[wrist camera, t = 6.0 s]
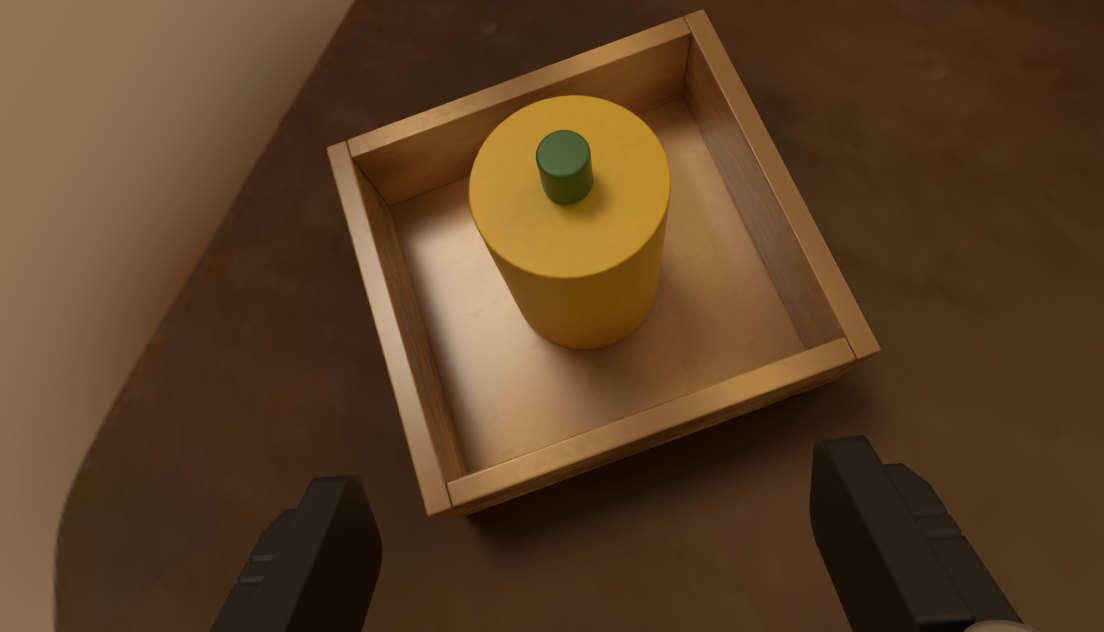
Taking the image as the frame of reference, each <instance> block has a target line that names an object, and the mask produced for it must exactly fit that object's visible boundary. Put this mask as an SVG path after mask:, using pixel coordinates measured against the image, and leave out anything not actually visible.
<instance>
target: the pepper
mask: <svg viewBox="0 0 1104 632" xmlns="http://www.w3.org/2000/svg"><path fill="white" fill-rule="evenodd" d="M670 190H671V176H670V168H669V164H668V160H667V157H666V154H665V151H664V149H663V147H662V145H661V143H660V142H659V140H658V138H657V137H656V135H655V134H654V133H653V131H652V130H651V129H650V128H649V127H648V126H647V125H646V124H645V123H644V122H643V121H642V120H641V119H640V118H639V117H638V116H636V115H635V114H634V113H632V112H631V111H629V110H627V109H626V108H624V107H622V106H620V105H618V104H615V103H613V102H611V101H607V100H604V99H600V98H596V97H590V96H578V95H570V96H558V97H553V98H548V99H544V100H541V101H538V102H535V103H533V104H530V105H528V106H526V107H524V108H522V109H520V110H518V111H517V112H515V113H513V114H512V115H510V116H509V117H508V118H506V119H505V120H504V121H503V122H502V123H500V124H499V125H498V126H497V127H496V128H495V129H494V130H493V131H492V133H491V134H490V135H489V136H488V137H487V139H486V140H485V142H484V143H483V145H482V147H481V148H480V150H479V152H478V154H477V156H476V158H475V161H474V164H473V167H472V170H471V174H470V180H469V204H470V210H471V213H472V217H473V220H474V222H475V225H476V227H477V229H478V231H479V233H480V235H481V237H482V239H483V241H484V243H485V245H486V247H487V249H488V251H489V252H490V254H491V256H492V258H493V260H494V262H495V264H496V266H497V268H498V270H499V272H500V273H501V275H502V277H503V279H504V281H505V283H506V285H507V287H508V289H509V291H510V293H511V294H512V296H513V298H514V300H515V302H516V304H517V306H518V308H519V310H520V312H521V313H522V315H523V317H524V318H525V320H526V321H527V322H528V324H529V325H530V326H531V327H532V328H533V329H534V330H535V331H536V332H537V333H538V334H540V335H541V336H542V337H544V338H545V339H547V340H549V341H551V342H553V343H555V344H558V345H560V346H563V347H568V348H572V349H596V348H602V347H605V346H608V345H611V344H614V343H616V342H618V341H620V340H622V339H624V338H625V337H627V336H628V335H630V334H631V333H632V332H633V331H635V330H636V329H637V328H638V327H639V326H640V325H641V324H642V323H643V321H644V320H645V318H646V317H647V316H648V314H649V312H650V310H651V309H652V307H653V304H654V301H655V299H656V294H657V290H658V283H659V275H660V268H661V260H662V253H663V245H664V238H665V230H666V222H667V215H668V207H669V200H670Z"/></svg>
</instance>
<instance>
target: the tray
mask: <svg viewBox="0 0 1104 632" xmlns="http://www.w3.org/2000/svg"><path fill="white" fill-rule="evenodd" d="M570 95H578V96H590V97H596V98H600V99H604V100H607V101H611V102H613V103H615V104H618V105H620V106H622V107H624V108H626V109H627V110H629V111H631V112H632V113H634V114H635V115H636V116H638V117H639V118H640V119H641V120H642V121H643V122H644V123H645V124H646V125H647V126H648V127H649V128H650V129H651V130H652V131H653V133H654V134H655V135H656V137H657V138H658V140H659V142H660V143H661V145H662V147H663V149H664V151H665V154H666V157H667V160H668V164H669V168H670V176H671V190H670V200H669V207H668V215H667V222H666V230H665V238H664V245H663V253H662V260H661V268H660V275H659V283H658V290H657V294H656V299H655V301H654V304H653V307H652V309H651V310H650V312H649V314H648V316H647V317H646V318H645V320H644V321H643V323H642V324H641V325H640V326H639V327H638V328H637V329H636V330H635V331H633V332H632V333H631V334H630V335H628V336H627V337H625V338H624V339H622V340H620V341H618V342H616V343H614V344H611V345H608V346H605V347H602V348H596V349H572V348H568V347H563V346H560V345H558V344H555V343H553V342H551V341H549V340H547V339H545V338H544V337H542V336H541V335H540V334H538V333H537V332H536V331H535V330H534V329H533V328H532V327H531V326H530V325H529V324H528V322H527V321H526V320H525V318H524V317H523V315H522V313H521V312H520V310H519V308H518V306H517V304H516V302H515V300H514V298H513V296H512V294H511V293H510V291H509V289H508V287H507V285H506V283H505V281H504V279H503V277H502V275H501V273H500V272H499V270H498V268H497V266H496V264H495V262H494V260H493V258H492V256H491V254H490V252H489V251H488V249H487V247H486V245H485V243H484V241H483V239H482V237H481V235H480V233H479V231H478V229H477V227H476V225H475V222H474V220H473V217H472V213H471V210H470V204H469V180H470V174H471V170H472V167H473V164H474V161H475V158H476V156H477V154H478V152H479V150H480V148H481V147H482V145H483V143H484V142H485V140H486V139H487V137H488V136H489V135H490V134H491V133H492V131H493V130H494V129H495V128H496V127H497V126H498V125H499V124H500V123H502V122H503V121H504V120H505V119H506V118H508V117H509V116H510V115H512V114H513V113H515V112H517V111H518V110H520V109H522V108H524V107H526V106H528V105H530V104H533V103H535V102H538V101H541V100H544V99H548V98H553V97H558V96H570ZM327 153H328V157H329V161H330V164H331V168H332V171H333V175H334V179H335V182H336V186H337V190H338V193H339V197H340V200H341V204H342V208H343V211H344V215H345V219H346V222H347V226H348V229H349V233H350V237H351V240H352V244H353V248H354V251H355V255H356V258H357V262H358V266H359V269H360V273H361V277H362V280H363V284H364V287H365V291H366V295H367V298H368V302H369V305H370V309H371V313H372V316H373V320H374V324H375V327H376V331H377V334H378V338H379V342H380V345H381V349H382V353H383V356H384V360H385V363H386V367H387V371H388V374H389V378H390V382H391V385H392V389H393V392H394V396H395V400H396V403H397V407H398V411H399V414H400V418H401V421H402V425H403V429H404V432H405V436H406V440H407V443H408V447H409V450H410V454H411V458H412V461H413V465H414V469H415V472H416V476H417V479H418V483H419V487H420V490H421V494H422V498H423V501H424V505H425V508H426V512H427V515H428V516H467V515H470V514H473V513H476V512H478V511H481V510H484V509H487V508H489V507H492V506H495V505H497V504H500V503H503V502H506V501H508V500H511V499H514V498H517V497H519V496H522V495H525V494H528V493H530V492H533V491H536V490H538V489H541V488H544V487H547V486H549V485H552V484H555V483H558V482H560V481H563V480H566V479H569V478H571V477H574V476H577V475H579V474H582V473H585V472H588V471H590V470H593V469H596V468H599V467H601V466H604V465H607V464H609V463H612V462H615V461H618V460H620V459H623V458H626V457H629V456H631V455H634V454H637V453H640V452H642V451H645V450H648V449H650V448H653V447H656V446H659V445H661V444H664V443H667V442H670V441H672V440H675V439H678V438H681V437H683V436H686V435H689V434H691V433H694V432H697V431H700V430H702V429H705V428H708V427H711V426H713V425H716V424H719V423H721V422H724V421H727V420H730V419H732V418H735V417H738V416H741V415H743V414H746V413H749V412H752V411H754V410H757V409H760V408H762V407H765V406H768V405H771V404H773V403H776V402H779V401H782V400H784V399H787V398H790V397H793V396H795V395H798V394H801V393H803V392H806V391H809V390H812V389H814V388H817V387H820V386H823V385H825V384H828V383H831V382H833V381H835V380H837V379H838V378H840V377H842V376H843V375H845V374H846V373H848V372H849V371H851V370H852V369H854V368H855V367H857V366H859V365H860V364H862V363H863V362H865V361H866V360H868V359H869V358H871V357H872V356H874V355H875V354H877V353H879V352H880V351H881V348H880V346H879V344H878V343H877V341H876V339H875V337H874V335H873V333H872V331H871V329H870V327H869V325H868V323H867V321H866V320H865V318H864V316H863V314H862V312H861V310H860V308H859V306H858V304H857V302H856V300H855V298H854V297H853V295H852V293H851V291H850V289H849V287H848V285H847V283H846V281H845V279H844V277H843V275H842V274H841V272H840V270H839V268H838V266H837V264H836V262H835V260H834V258H833V256H832V254H831V252H830V251H829V249H828V247H827V245H826V243H825V241H824V239H823V237H822V235H821V233H820V231H819V229H818V228H817V226H816V224H815V222H814V220H813V218H812V216H811V214H810V212H809V210H808V208H807V206H806V205H805V203H804V201H803V199H802V197H801V195H800V193H799V191H798V189H797V187H796V185H795V183H794V182H793V180H792V178H791V176H790V174H789V172H788V170H787V168H786V166H785V164H784V162H783V160H782V159H781V157H780V155H779V153H778V151H777V149H776V147H775V145H774V143H773V141H772V139H771V137H770V136H769V134H768V132H767V130H766V128H765V126H764V124H763V122H762V120H761V118H760V116H759V114H758V113H757V111H756V109H755V107H754V105H753V103H752V101H751V99H750V97H749V95H748V93H747V91H746V90H745V88H744V86H743V84H742V82H741V80H740V78H739V76H738V74H737V72H736V70H735V68H734V67H733V65H732V63H731V61H730V59H729V57H728V55H727V53H726V51H725V49H724V47H723V45H722V44H721V42H720V40H719V38H718V36H717V34H716V32H715V30H714V28H713V26H712V24H711V22H710V21H709V19H708V17H707V15H706V13H705V11H704V10H703V9H702V10H699V11H697V12H694V13H691V14H688V15H686V16H684V18H683V17H680V18H677V19H675V20H672V21H669V22H666V23H664V24H661V25H658V26H656V27H653V28H650V29H647V30H645V31H642V32H639V33H637V34H634V35H631V36H628V37H626V38H623V39H620V40H618V41H615V42H612V43H609V44H607V45H604V46H601V47H599V48H596V49H593V50H590V51H588V52H585V53H582V54H579V55H577V56H574V57H571V58H569V59H566V60H563V61H560V62H558V63H555V64H552V65H550V66H547V67H544V68H541V69H539V70H536V71H533V72H531V73H528V74H525V75H522V76H520V77H517V78H514V79H512V80H509V81H506V82H503V83H501V84H498V85H495V86H493V87H490V88H487V89H484V90H482V91H479V92H476V93H474V94H471V95H468V96H465V97H463V98H460V99H457V100H455V101H452V102H449V103H446V104H444V105H441V106H438V107H436V108H433V109H430V110H427V111H425V112H422V113H419V114H416V115H414V116H411V117H408V118H406V119H403V120H400V121H397V122H395V123H392V124H389V125H387V126H384V127H381V128H378V129H376V130H373V131H370V132H368V133H365V134H362V135H359V136H357V137H354V138H351V139H349V140H347V142H346V141H344V142H341V143H338V144H335V145H333V146H330V147H327Z"/></svg>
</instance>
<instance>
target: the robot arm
mask: <svg viewBox="0 0 1104 632" xmlns="http://www.w3.org/2000/svg"><path fill="white" fill-rule="evenodd" d="M810 519H811V525H812V530H813V534H814V538H815V541H816V543H817V546H818V548H819V551H820V553H821V556H822V558H823V560H824V563H825V565H826V568H827V570H828V573H829V575H830V577H831V580H832V582H833V585H834V587H835V589H836V592H837V594H838V597H839V599H840V602H841V604H842V606H843V609H844V611H845V614H846V616H847V619H848V621H849V623H850V626H851V628H852V631H853V632H1041V631H1039V630H1037V629H1034V628H1032V627H1030V626H1027V625H1025V624H1024V623H1023V622H1022V620H1021V619H1020V618H1019V616H1018V615H1017V613H1016V612H1015V610H1014V609H1013V607H1012V606H1011V604H1010V603H1009V601H1008V600H1007V598H1006V597H1005V595H1004V594H1003V592H1002V591H1001V590H1000V588H999V587H998V585H997V584H996V582H995V581H994V579H993V578H992V576H991V575H990V573H989V572H988V570H987V569H986V567H985V566H984V564H983V563H982V561H981V560H980V558H979V557H978V555H977V554H976V552H975V551H974V549H973V548H972V546H971V545H970V543H969V542H968V540H967V539H966V537H965V536H962V534H961V530H960V528H959V527H958V526H957V524H956V523H955V521H954V520H953V518H952V517H951V515H948V514H947V509H946V508H945V506H944V505H943V503H942V502H941V500H940V499H939V497H938V496H937V494H936V493H935V491H934V490H933V488H932V487H931V485H930V484H929V483H928V482H926V481H925V480H924V479H922V478H921V477H920V476H918V475H917V474H916V473H914V472H913V471H912V470H910V469H909V468H908V467H906V466H905V465H904V464H902V463H898V464H886V465H883V464H882V462H881V460H880V459H879V457H878V455H877V454H876V452H875V450H874V449H873V447H872V446H871V444H870V442H869V441H868V439H867V438H866V437H865V436H863V435H855V436H843V437H830V438H818V439H816V441H815V443H814V449H813V463H812V477H811V491H810ZM381 562H382V543H381V537H380V533H379V530H378V527H377V524H376V521H375V519H374V516H373V513H372V510H371V507H370V504H369V501H368V498H367V495H366V492H365V489H364V486H363V483H362V481H361V479H360V478H359V477H358V476H357V475H347V476H335V477H322V478H315V479H313V480H312V481H311V482H310V484H309V486H308V488H307V490H306V492H305V494H304V496H303V498H302V500H301V502H300V504H299V506H298V508H297V509H288V510H284V511H283V512H282V513H281V514H280V515H279V516H278V517H277V518H276V519H275V520H274V521H273V522H272V523H271V524H270V525H269V526H268V527H267V528H266V529H265V530H264V531H263V532H262V534H261V536H260V538H259V540H258V542H257V544H256V545H255V547H254V549H253V551H252V553H251V555H250V557H249V563H246V564H245V566H244V568H243V570H242V572H241V574H240V575H239V577H238V583H237V584H235V585H234V587H233V589H232V590H231V592H230V594H229V596H228V598H227V600H226V602H225V604H224V605H223V607H222V609H221V611H220V613H219V615H218V617H217V619H216V620H215V622H214V624H213V626H212V628H211V630H210V632H361V631H362V627H363V624H364V621H365V618H366V615H367V611H368V608H369V605H370V602H371V598H372V595H373V592H374V589H375V586H376V582H377V579H378V576H379V573H380V569H381Z"/></svg>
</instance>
